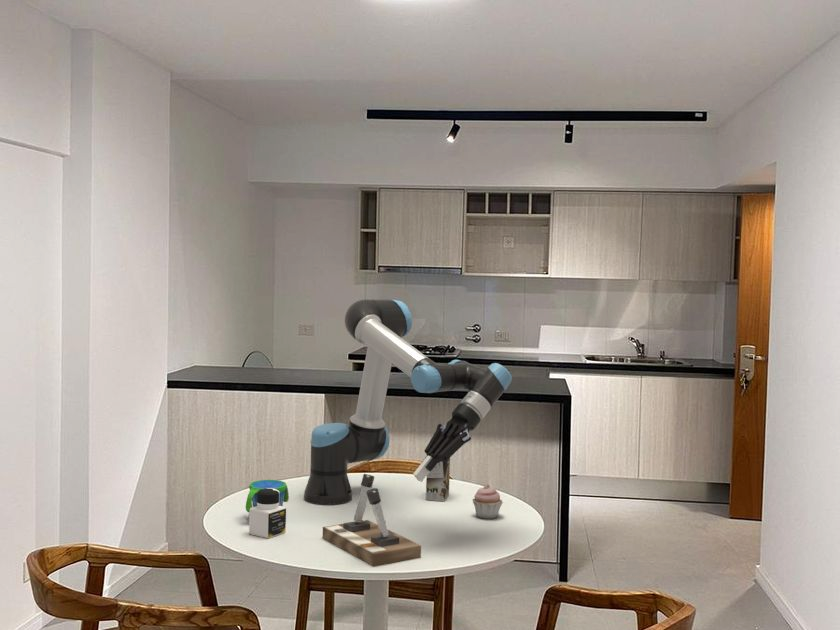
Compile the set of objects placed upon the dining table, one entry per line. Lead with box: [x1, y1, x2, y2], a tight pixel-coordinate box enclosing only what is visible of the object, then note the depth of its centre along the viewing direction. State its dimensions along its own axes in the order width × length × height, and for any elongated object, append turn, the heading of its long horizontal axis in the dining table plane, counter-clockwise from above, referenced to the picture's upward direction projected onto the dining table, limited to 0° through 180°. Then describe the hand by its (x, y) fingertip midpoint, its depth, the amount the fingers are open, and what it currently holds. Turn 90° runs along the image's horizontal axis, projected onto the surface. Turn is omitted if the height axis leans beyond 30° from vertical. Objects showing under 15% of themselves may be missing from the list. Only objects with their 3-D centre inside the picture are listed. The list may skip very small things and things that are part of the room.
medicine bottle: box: [248, 488, 287, 539], centre depth 231 cm, size 7×7×12 cm
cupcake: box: [471, 483, 504, 520], centre depth 255 cm, size 9×9×10 cm
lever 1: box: [353, 473, 375, 522], centre depth 228 cm, size 3×3×12 cm
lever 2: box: [366, 487, 389, 537], centre depth 215 cm, size 3×3×12 cm
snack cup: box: [245, 479, 290, 514], centre depth 245 cm, size 16×10×10 cm
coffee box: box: [425, 457, 451, 502], centre depth 275 cm, size 9×6×16 cm
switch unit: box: [322, 519, 422, 567], centre depth 222 cm, size 26×14×4 cm, turn 35°
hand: (417, 478), depth 223 cm, fingers closed
